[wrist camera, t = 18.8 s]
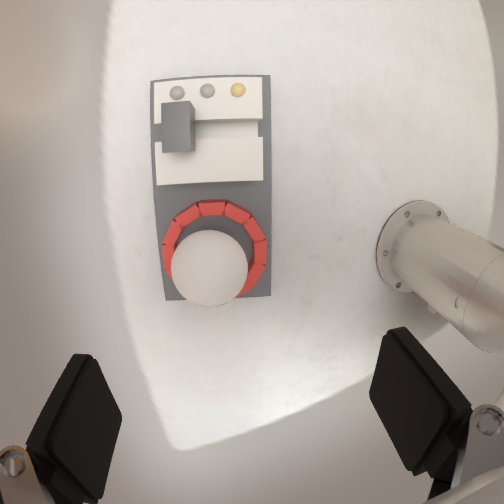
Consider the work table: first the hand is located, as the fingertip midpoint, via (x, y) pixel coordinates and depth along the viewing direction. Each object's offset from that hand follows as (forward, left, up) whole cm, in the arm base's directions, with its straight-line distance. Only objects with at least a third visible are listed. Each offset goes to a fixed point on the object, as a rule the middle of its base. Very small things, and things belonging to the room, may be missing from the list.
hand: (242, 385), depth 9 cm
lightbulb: (-2, +3, -24) cm, 24 cm away
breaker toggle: (+9, -2, -22) cm, 23 cm away
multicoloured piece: (+3, 0, -25) cm, 25 cm away
